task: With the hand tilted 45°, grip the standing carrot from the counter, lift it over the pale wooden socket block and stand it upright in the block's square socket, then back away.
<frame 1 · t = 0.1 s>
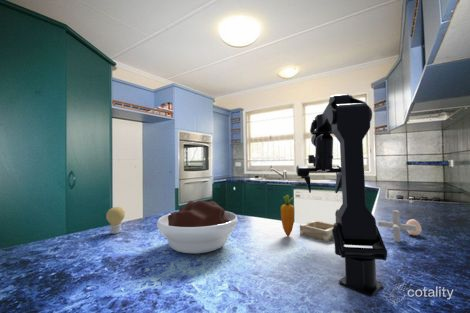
hand: (322, 192, 81), 15 cm above the countertop, tool pointing down, fingers open, 9 cm apart
socket block: (320, 235, 80), on the countertop
carrot: (288, 236, 79), on the countertop
egg: (413, 235, 79), on the countertop
pipe connector: (397, 241, 73), on the countertop
light bulb: (115, 233, 85), on the countertop
bowl of chocolate chunks: (198, 248, 69), on the countertop
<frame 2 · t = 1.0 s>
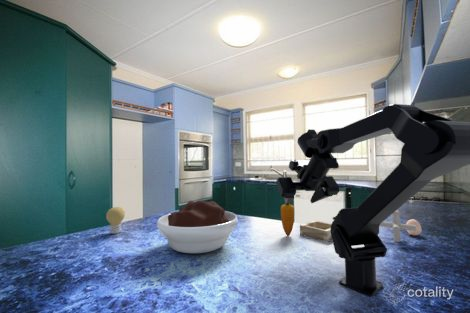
hand: (298, 202, 72), 13 cm above the countertop, tool tilted 45°, fingers open, 9 cm apart
nothing on the countertop moved.
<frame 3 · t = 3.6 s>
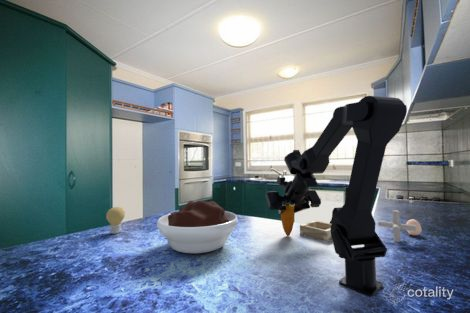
hand: (285, 212, 81), 8 cm above the countertop, tool tilted 45°, fingers closed on carrot, 5 cm apart
carrot: (288, 236, 79), on the countertop, touching gripper
everything else where it was.
when the fingers open (10 cm above the countertop, at t = 7.1 s): carrot stays where it is, resting on socket block.
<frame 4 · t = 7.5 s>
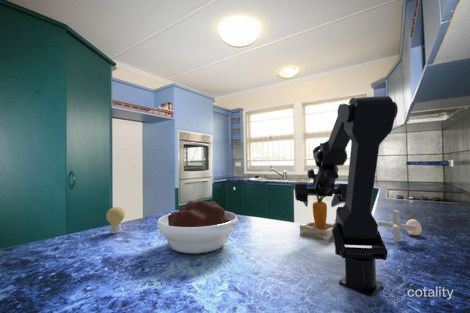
hand: (318, 205, 82), 10 cm above the countertop, tool tilted 45°, fingers open, 9 cm apart
carrot: (320, 233, 80), point 1 cm above the countertop, touching socket block
everything else where it was.
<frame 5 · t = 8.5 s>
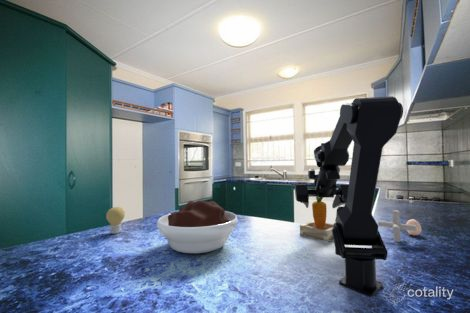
hand: (319, 207, 80), 10 cm above the countertop, tool tilted 45°, fingers open, 9 cm apart
nothing on the countertop moved.
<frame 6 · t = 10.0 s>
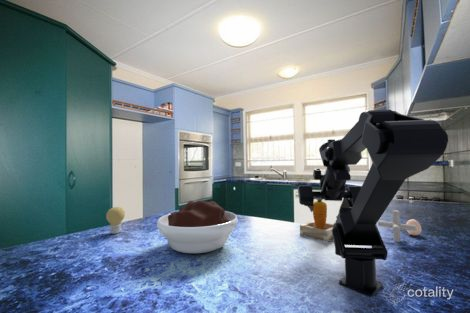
hand: (325, 211, 72), 10 cm above the countertop, tool tilted 45°, fingers open, 9 cm apart
nothing on the countertop moved.
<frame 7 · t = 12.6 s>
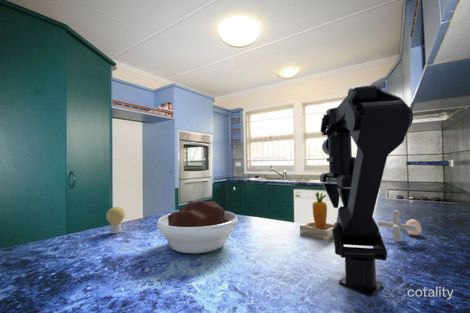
hand: (342, 211, 60), 13 cm above the countertop, tool pointing down, fingers open, 9 cm apart
nothing on the countertop moved.
at the end: carrot 0.1 cm off-centre on the socket block, point 0.6 cm above the socket block's base; carrot tilted 1°; the gripper is holding nothing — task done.
